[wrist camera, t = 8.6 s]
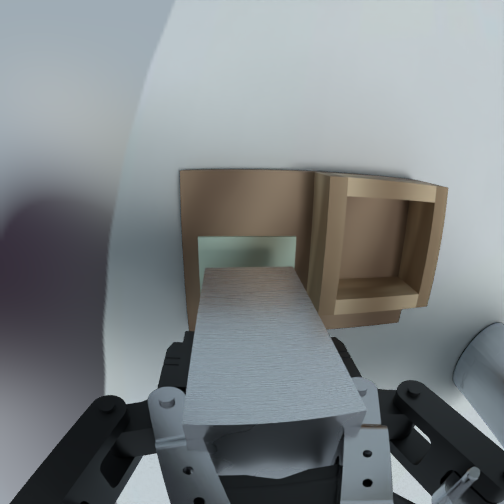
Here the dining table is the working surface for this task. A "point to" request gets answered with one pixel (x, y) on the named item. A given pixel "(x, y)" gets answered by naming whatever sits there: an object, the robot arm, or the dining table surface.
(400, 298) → the brown compartment tray
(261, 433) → the block
